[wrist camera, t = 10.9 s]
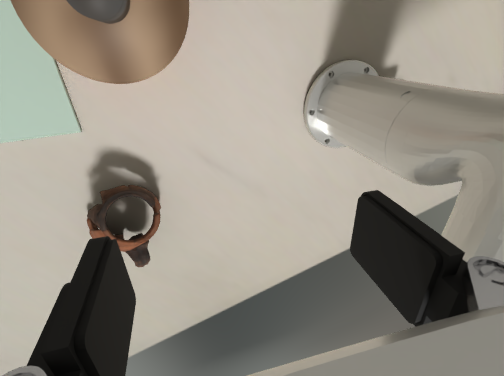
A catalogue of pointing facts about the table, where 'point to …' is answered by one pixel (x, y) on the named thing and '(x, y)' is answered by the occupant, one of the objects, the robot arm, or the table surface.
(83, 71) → the lid
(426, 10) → the table surface
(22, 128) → the mat
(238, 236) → the table surface
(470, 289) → the robot arm
